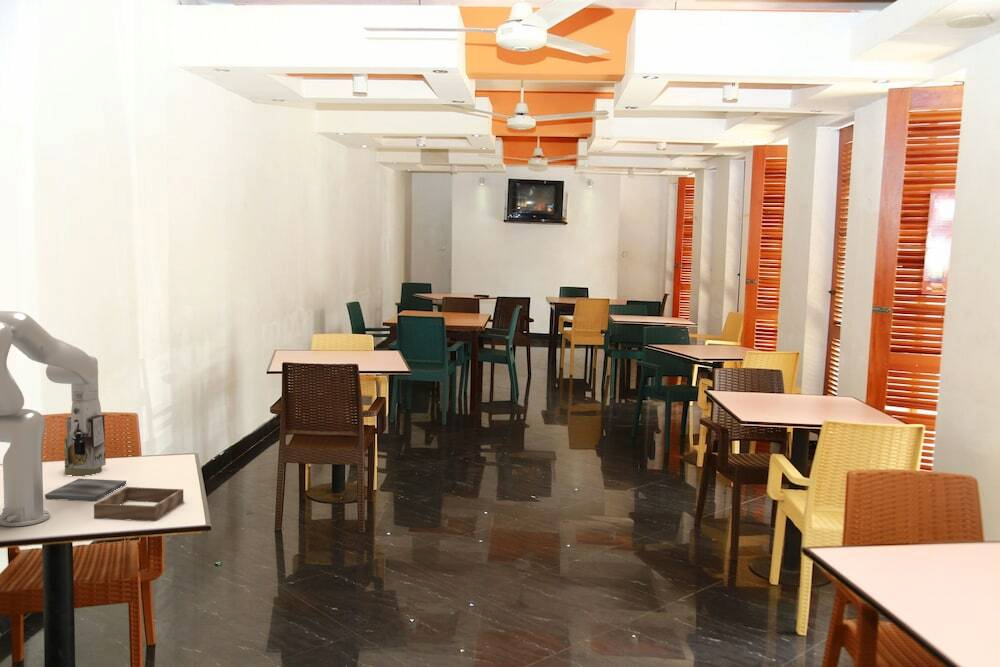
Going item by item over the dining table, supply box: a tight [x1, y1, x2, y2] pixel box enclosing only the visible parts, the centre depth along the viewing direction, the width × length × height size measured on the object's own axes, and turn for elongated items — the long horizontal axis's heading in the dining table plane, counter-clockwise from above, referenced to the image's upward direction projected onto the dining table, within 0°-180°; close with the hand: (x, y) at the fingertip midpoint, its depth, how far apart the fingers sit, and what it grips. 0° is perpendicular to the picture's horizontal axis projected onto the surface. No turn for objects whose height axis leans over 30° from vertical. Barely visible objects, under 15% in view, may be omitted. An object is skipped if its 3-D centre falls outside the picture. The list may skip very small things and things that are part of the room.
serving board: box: [44, 478, 127, 502], centre depth 255 cm, size 18×16×2 cm
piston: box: [63, 437, 103, 477], centre depth 277 cm, size 11×12×11 cm
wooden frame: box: [93, 486, 184, 522], centre depth 239 cm, size 18×18×4 cm
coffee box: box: [65, 414, 107, 469], centre depth 254 cm, size 9×6×16 cm
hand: (86, 451), depth 254 cm, fingers closed on coffee box, 6 cm apart
